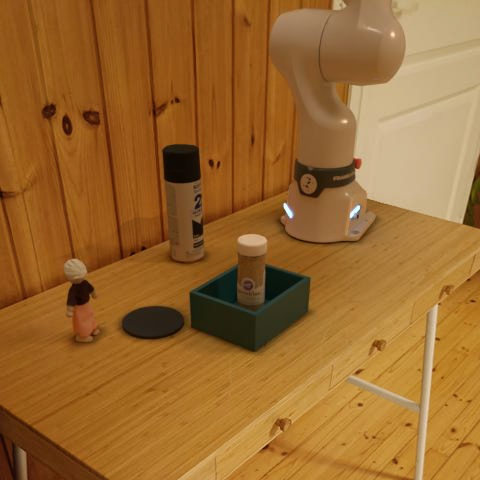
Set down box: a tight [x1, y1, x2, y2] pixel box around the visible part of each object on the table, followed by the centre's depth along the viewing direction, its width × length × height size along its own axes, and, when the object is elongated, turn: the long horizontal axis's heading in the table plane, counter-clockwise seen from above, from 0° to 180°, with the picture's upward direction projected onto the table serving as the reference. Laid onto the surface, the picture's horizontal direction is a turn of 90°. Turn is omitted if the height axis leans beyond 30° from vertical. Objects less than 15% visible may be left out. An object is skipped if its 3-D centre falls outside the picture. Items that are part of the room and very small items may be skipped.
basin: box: [188, 263, 312, 352], centre depth 98 cm, size 16×13×6 cm
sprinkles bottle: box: [236, 233, 268, 312], centre depth 96 cm, size 5×5×14 cm
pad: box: [121, 305, 185, 340], centre depth 99 cm, size 10×10×1 cm
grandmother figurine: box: [63, 258, 101, 343], centre depth 91 cm, size 8×4×13 cm, turn 171°
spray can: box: [161, 143, 205, 263], centre depth 113 cm, size 7×7×20 cm
